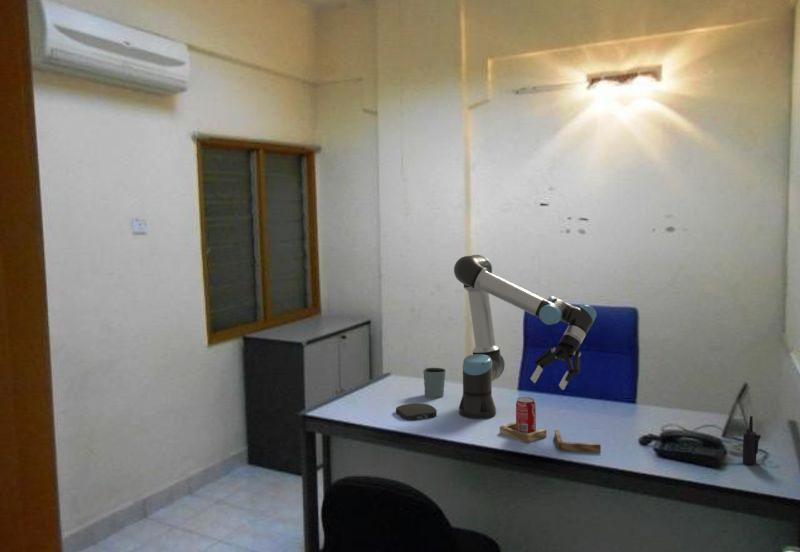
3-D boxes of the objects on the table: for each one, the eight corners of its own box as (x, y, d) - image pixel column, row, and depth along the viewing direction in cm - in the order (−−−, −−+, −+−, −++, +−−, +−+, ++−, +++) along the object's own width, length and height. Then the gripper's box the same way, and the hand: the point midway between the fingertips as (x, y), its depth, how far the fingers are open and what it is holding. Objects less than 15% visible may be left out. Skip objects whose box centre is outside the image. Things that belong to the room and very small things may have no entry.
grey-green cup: (418, 395, 274) (418, 369, 273) (434, 391, 281) (434, 366, 280) (434, 400, 267) (434, 373, 266) (450, 395, 274) (450, 369, 273)
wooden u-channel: (519, 427, 229) (519, 420, 229) (546, 436, 219) (546, 429, 219) (499, 433, 223) (499, 426, 223) (526, 442, 213) (526, 436, 212)
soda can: (536, 437, 218) (536, 402, 217) (515, 436, 219) (515, 401, 218) (535, 431, 225) (535, 397, 224) (515, 430, 226) (516, 396, 225)
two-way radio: (746, 459, 196) (748, 413, 195) (761, 462, 193) (763, 416, 192) (740, 463, 192) (742, 417, 191) (756, 467, 189) (758, 420, 188)
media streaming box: (425, 408, 257) (425, 401, 256) (439, 417, 243) (439, 410, 243) (393, 412, 251) (393, 405, 251) (406, 422, 238) (406, 415, 238)
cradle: (556, 436, 219) (556, 429, 219) (602, 451, 204) (602, 444, 204) (537, 442, 213) (537, 435, 213) (583, 458, 198) (583, 451, 198)
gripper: (603, 350, 226) (578, 396, 218) (551, 341, 246) (526, 383, 239) (594, 337, 223) (569, 384, 215) (542, 330, 243) (516, 372, 235)
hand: (546, 384), depth 227 cm, fingers open, 13 cm apart
